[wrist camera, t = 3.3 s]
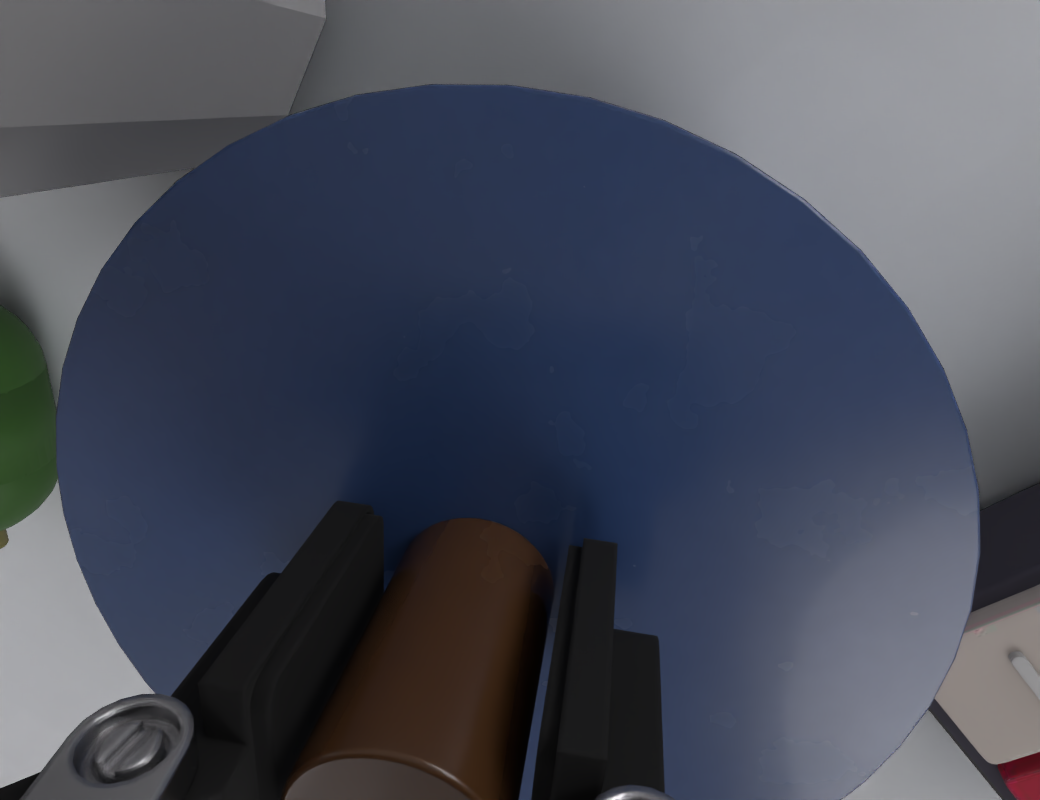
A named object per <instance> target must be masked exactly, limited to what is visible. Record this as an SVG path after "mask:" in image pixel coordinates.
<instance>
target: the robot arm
mask: <svg viewBox="0 0 1040 800" xmlns="http://www.w3.org/2000/svg"><path fill="white" fill-rule="evenodd" d="M617 548H618V544H617V543H614V542H607V541H601V540H594V539H588V538H584V540H583V547H579V546H573V545H569V549H568V555H567V562H566V568H565V574H564V581H563V587H562V593H561V600H560V606H559V613H558V619H557V625H556V632H555V638H554V644H553V651H552V657H551V664H550V670H549V676H548V683H547V689H546V695H545V702H544V708H543V714H542V721H541V727H540V734H539V741H538V748H537V756H536V763H535V772H534V780H533V789H532V797H531V800H675V799H674V798H672V797H671V796H670V795H668V794H665V784H664V758H663V731H662V704H661V677H660V650H659V639H658V636H654V635H648V634H642V633H636V632H630V631H624V630H618V629H614V611H615V590H616V569H617ZM383 593H384V522H383V517H382V516H378V515H374V511H373V508H372V506H371V505H365V504H359V503H352V502H345V501H336V502H335V503H334V504H333V505H332V507H331V508H330V509H329V511H328V512H327V513H326V515H325V516H324V517H323V519H322V520H321V521H320V522H319V524H318V525H317V526H316V528H315V529H314V530H313V532H312V533H311V534H310V536H309V537H308V538H307V540H306V541H305V542H304V544H303V545H302V546H301V548H300V549H299V550H298V552H297V553H296V554H295V556H294V557H293V558H292V560H291V561H290V562H289V563H288V565H287V566H286V567H285V569H284V570H283V571H282V573H276V572H272V573H270V574H268V575H267V576H266V577H265V578H264V579H263V580H261V582H260V583H259V584H258V586H257V587H256V588H255V589H254V591H253V592H252V593H251V594H250V596H249V597H248V598H247V600H246V601H245V602H244V603H243V605H242V606H241V607H240V608H239V610H238V611H237V612H236V614H235V615H234V616H233V617H232V619H231V620H230V621H229V622H228V624H227V625H226V626H225V628H224V629H223V630H222V631H221V633H220V634H219V635H218V636H217V638H216V639H215V640H214V642H213V643H212V644H211V645H210V647H209V648H208V649H207V650H206V652H205V653H204V654H203V656H202V657H201V658H200V659H199V661H198V662H197V663H196V664H195V666H194V667H193V668H192V670H191V671H190V672H189V673H188V675H187V676H186V677H185V678H184V680H183V681H182V682H181V684H180V685H179V686H178V687H177V689H176V690H175V691H174V692H173V694H172V695H171V696H167V695H163V694H140V695H136V696H132V697H128V698H124V699H120V700H118V701H116V702H114V703H111V704H109V705H107V706H105V707H102V708H101V709H99V710H98V711H96V712H95V713H93V714H92V715H90V716H89V717H87V718H86V719H85V720H83V721H82V722H81V723H80V724H79V725H78V726H77V727H76V728H75V729H74V731H73V732H72V733H71V734H70V735H69V736H68V737H67V738H66V740H65V741H64V742H63V744H62V745H61V746H60V748H59V749H58V750H57V751H56V753H55V754H54V755H53V757H52V758H51V759H50V761H49V762H48V763H47V765H46V766H45V767H44V768H43V770H42V771H41V772H40V773H37V774H35V775H32V776H30V777H27V778H25V779H22V780H20V781H17V782H15V783H13V784H10V785H8V786H5V787H3V788H0V800H280V799H281V794H282V790H283V787H284V785H285V783H286V780H287V779H288V777H289V775H290V773H291V771H292V769H293V767H294V765H295V763H296V761H297V759H298V757H299V755H300V753H301V751H302V750H303V748H304V746H305V744H306V742H307V740H308V738H309V736H310V734H311V732H312V730H313V728H314V726H315V724H316V723H317V721H318V719H319V717H320V715H321V713H322V711H323V709H324V707H325V705H326V703H327V701H328V699H329V697H330V696H331V694H332V692H333V690H334V688H335V686H336V684H337V682H338V680H339V678H340V676H341V674H342V672H343V670H344V668H345V667H346V665H347V663H348V661H349V659H350V657H351V655H352V653H353V651H354V649H355V647H356V645H357V643H358V641H359V640H360V638H361V636H362V634H363V632H364V630H365V628H366V626H367V624H368V622H369V620H370V618H371V616H372V614H373V612H374V611H375V609H376V607H377V605H378V603H379V601H380V599H381V597H382V595H383Z"/></svg>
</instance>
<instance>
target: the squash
mask: <svg viewBox="0 0 1040 800" xmlns="http://www.w3.org/2000/svg"><path fill="white" fill-rule="evenodd" d="M57 480H58V474H57V468H56V407H55V402H54V398H53V393H52V388H51V383H50V379H49V374H48V369H47V365H46V361H45V358H44V355H43V352H42V349H41V347H40V345H39V343H38V342H37V340H36V339H35V337H34V335H33V334H32V332H31V331H30V330H29V328H28V327H27V326H26V325H25V324H24V323H23V322H22V321H21V320H20V319H19V318H18V317H17V316H15V315H14V314H12V313H11V312H10V311H8V310H7V309H5V308H4V307H2V306H1V305H0V549H1V548H3V547H4V546H5V545H6V544H7V543H8V541H9V539H8V535H7V531H6V529H7V528H9V527H11V526H13V525H15V524H17V523H18V522H20V521H22V520H23V519H25V518H26V517H27V516H29V515H30V514H31V513H33V512H34V511H35V510H36V509H38V508H39V507H40V505H41V504H42V503H43V502H44V501H45V500H46V498H47V497H48V496H49V495H50V493H51V492H52V491H53V488H54V486H55V484H56V482H57Z"/></svg>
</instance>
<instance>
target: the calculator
mask: <svg viewBox="0 0 1040 800" xmlns="http://www.w3.org/2000/svg"><path fill="white" fill-rule="evenodd" d="M928 710H929V711H930V712H931V713H932V714H933V716H934V717H935V718H936V719H937V721H938V722H939V723H940V724H941V725H942V727H943V728H944V729H945V730H946V732H947V733H948V734H949V735H950V736H951V738H952V739H953V740H954V741H955V743H956V744H957V745H958V746H959V747H960V749H961V750H962V751H963V752H964V753H965V755H966V756H967V757H968V758H969V760H970V761H971V762H972V763H973V764H974V766H975V767H976V768H977V769H978V771H979V772H980V773H981V774H982V775H983V777H984V778H985V779H986V780H987V782H988V783H989V784H990V785H991V786H992V788H993V789H994V790H995V791H996V792H997V794H998V795H999V796H1000V797H1001V799H1002V800H1040V483H1039V484H1036V485H1034V486H1032V487H1030V488H1028V489H1026V490H1024V491H1022V492H1019V493H1017V494H1015V495H1013V496H1011V497H1009V498H1007V499H1004V500H1002V501H1000V502H998V503H996V504H994V505H992V506H989V507H987V508H985V509H983V510H981V511H980V558H979V565H978V571H977V578H976V584H975V591H974V598H973V604H972V609H971V612H970V615H969V618H968V621H967V624H966V627H965V630H964V633H963V636H962V640H961V643H960V646H959V649H958V652H957V655H956V658H955V660H954V662H953V664H952V666H951V668H950V670H949V672H948V673H947V675H946V677H945V679H944V681H943V683H942V685H941V687H940V689H939V691H938V693H937V694H936V696H935V698H934V700H933V702H932V704H931V706H930V707H929V708H928Z"/></svg>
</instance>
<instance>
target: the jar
mask: <svg viewBox="0 0 1040 800" xmlns="http://www.w3.org/2000/svg"><path fill="white" fill-rule="evenodd" d="M325 21H326V8H325V0H0V198H1V197H8V196H14V195H21V194H27V193H34V192H40V191H47V190H53V189H60V188H66V187H73V186H79V185H86V184H93V183H99V182H106V181H112V180H119V179H125V178H132V177H138V176H145V175H151V174H158V173H164V172H171V171H177V170H184V169H190V168H196V167H197V166H199V165H200V164H202V163H203V162H204V161H206V160H207V159H209V158H210V157H212V156H213V155H214V154H216V153H217V152H219V151H220V150H221V149H223V148H224V147H226V146H227V145H229V144H231V143H233V142H235V141H237V140H239V139H241V138H243V137H245V136H247V135H249V134H251V133H253V132H255V131H257V130H259V129H262V128H264V127H266V126H268V125H270V124H272V123H274V122H276V121H278V120H280V119H282V118H284V117H286V116H287V115H288V114H289V111H290V109H291V106H292V104H293V101H294V99H295V96H296V94H297V91H298V89H299V86H300V84H301V81H302V79H303V76H304V74H305V71H306V69H307V66H308V63H309V61H310V58H311V56H312V53H313V51H314V48H315V46H316V43H317V41H318V38H319V36H320V33H321V31H322V28H323V26H324V23H325Z"/></svg>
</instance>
